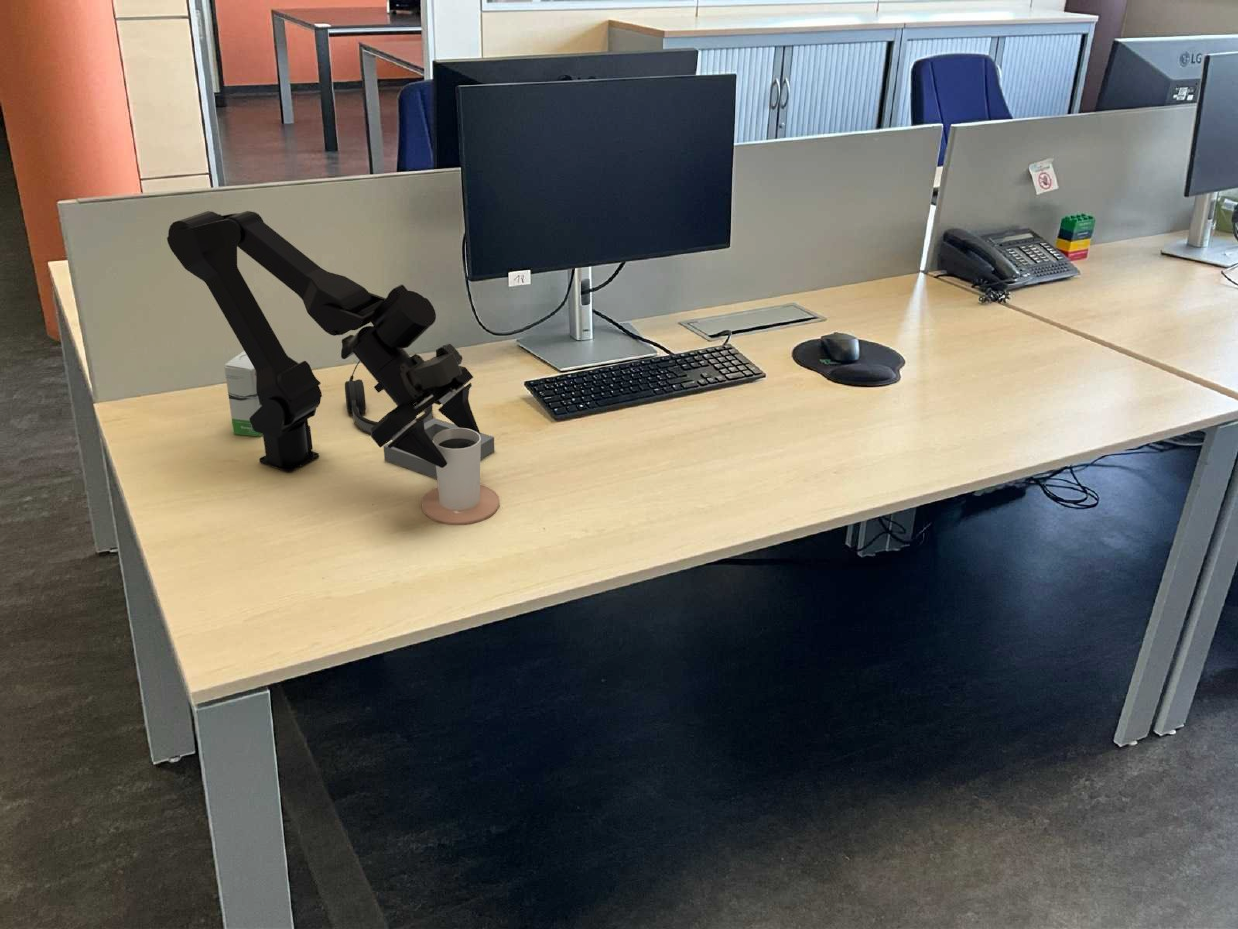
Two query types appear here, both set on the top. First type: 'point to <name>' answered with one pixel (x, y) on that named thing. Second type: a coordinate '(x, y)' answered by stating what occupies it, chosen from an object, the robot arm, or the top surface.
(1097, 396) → the top surface
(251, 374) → the ink box
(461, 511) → the coaster
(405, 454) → the cup holder
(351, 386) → the headset
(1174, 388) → the top surface
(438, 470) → the grey cup
